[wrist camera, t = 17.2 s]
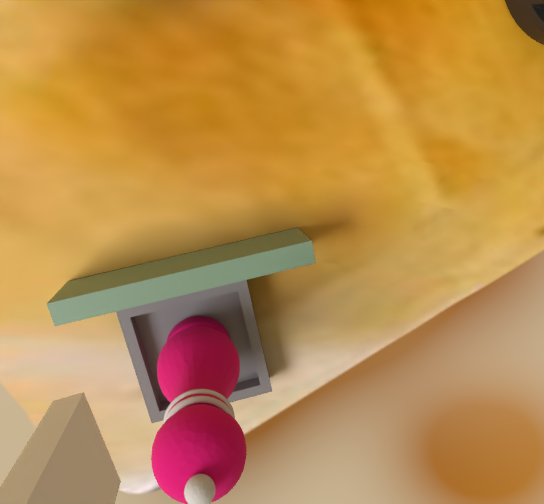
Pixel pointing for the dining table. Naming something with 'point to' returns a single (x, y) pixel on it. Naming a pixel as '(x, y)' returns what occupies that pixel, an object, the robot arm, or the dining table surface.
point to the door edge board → (180, 275)
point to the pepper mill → (198, 414)
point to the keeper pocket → (167, 313)
